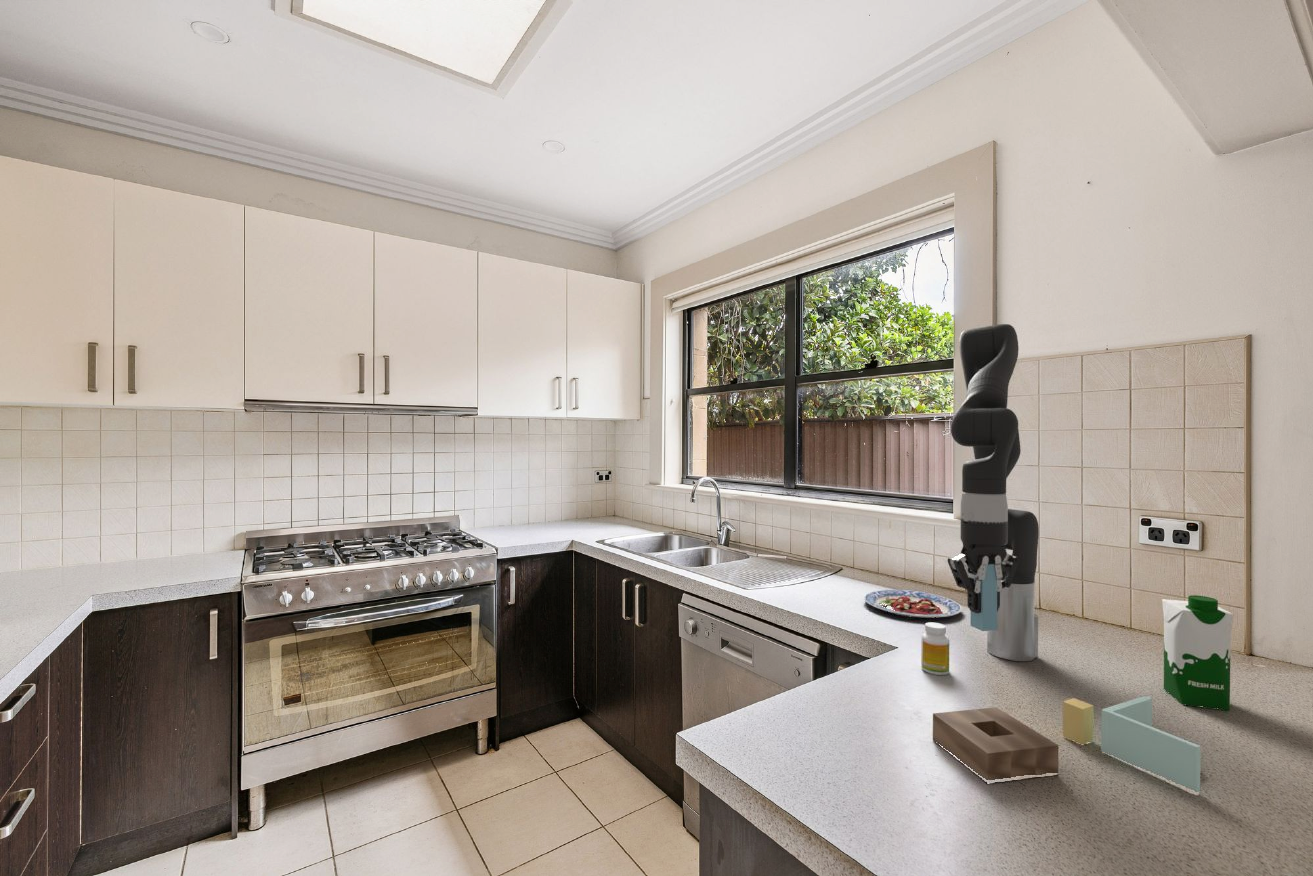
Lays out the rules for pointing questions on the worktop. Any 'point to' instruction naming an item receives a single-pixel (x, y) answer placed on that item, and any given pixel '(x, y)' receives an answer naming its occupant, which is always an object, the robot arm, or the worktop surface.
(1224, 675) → the milk carton
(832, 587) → the worktop surface
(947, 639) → the supplement bottle
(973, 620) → the long peg
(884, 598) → the ceramic plate
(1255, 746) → the worktop surface
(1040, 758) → the hole block
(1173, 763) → the l-shaped corner panel
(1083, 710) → the short peg
